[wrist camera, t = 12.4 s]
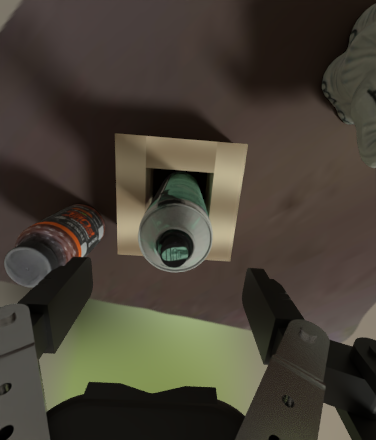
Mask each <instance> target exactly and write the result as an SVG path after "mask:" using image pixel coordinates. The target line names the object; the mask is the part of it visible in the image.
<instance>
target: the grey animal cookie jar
mask: <svg viewBox="0 0 376 440" xmlns="http://www.w3.org/2000/svg"><path fill="white" fill-rule="evenodd" d="M322 90H323V93H324V95H325V96H326V97H327V98H328V99H329V101H330V102H331V103H332V104H333V105H334V107H335V108H336V110H337V112H338V115H339V117H340V118H341V120H342V121H343V122H344V123H346V124H355V126H356V131H357V143H358V149H359V154H360V157H361V159H362V160H363V162H364V163H365V164H366V165H368V166H369V167H372V168H376V3H375V4H374V5H372V6H371V7H369V8H368V9H367V10H366V11H365V12H364V13H363V14H362V15H361V16H360V17H359V19H358V20H357V22H356V23H355V25H354V27H353V29H352V32H351V35H350V38H349V45H348V49H347V50H346V52H345V53H343V54H342V55H340V56H339V57H337V58H336V59H335V60H334V61H333V62H332V63H331V64H330V65H329V66H328V68H327V70H326V72H325V73H324V76H323V81H322Z"/></svg>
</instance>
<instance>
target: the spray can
mask: <svg viewBox="0 0 376 440" xmlns="http://www.w3.org/2000/svg"><path fill="white" fill-rule="evenodd" d="M212 237H213V231H212V226H211V222H210V219H209V216H208V213H207V210H206V207H205V203H204V200H203V197H202V194H201V191H200V188H199V185H198V182H197V181H196V179H195V178H194V177H193V176H192V175H191V174H189V173H186V172H174V173H172V174H170V175H169V176H167V177H166V178H165V180H164V181H163V183H162V185H161V186H160V188H159V190H158V192H157V193H156V195H155V197H154V199H153V200H152V202H151V204H150V206H149V207H148V209H147V211H146V212H145V214H144V216H143V218H142V220H141V222H140V226H139V232H138V243H139V248H140V250H141V252H142V254H143V256H144V257H145V258H146V260H147V261H149V262H150V263H151V264H152V265H153V266H155V267H157V268H159V269H161V270H164V271H168V272H184V271H187V270H190V269H192V268H195V267H196V266H198V265H199V264H200V263H202V262H203V261H204V259H205V258H206V257H207V255H208V254H209V252H210V249H211V246H212V240H213V238H212Z"/></svg>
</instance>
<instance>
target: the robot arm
mask: <svg viewBox="0 0 376 440" xmlns="http://www.w3.org/2000/svg"><path fill="white" fill-rule="evenodd" d="M92 288H93V279H92V265H91V259H90V258H89V257H72V258H71V259H70V260H69V261H68V262H67V263H66V264H65V265H64V266H59V267H58V268H56V269H54V270H52V271H50V272H49V273H48V274H47V275H46V276H45V277H44V279H42V280H41V281H40V282H39V283H38V285H36V286H35V287H34V288H33V289H32V290H30V291H29V292H28V293H27V294H26V295H25V296H24V297H23V298H22V299H21V300H20V301H19V302H18V303H17V304H10V305H6V306H3V307H0V440H317V439H318V432H319V425H320V419H321V413H322V407H323V403H326V404H328V405H331V406H334V407H335V408H336V410H337V412H338V414H339V415H340V418H341V420H342V421H343V423H344V425H345V427H346V429H347V431H348V433H349V435H350V437H351V439H352V440H376V340H373V339H370V338H357V339H356V340H355V342H354V345H353V347H352V346H348V345H345V344H342V343H338V342H335V341H332V340H329V338H328V336H327V334H326V333H325V332H324V331H323V330H322V329H321V328H320V327H318V326H317V325H315V324H313V323H311V322H309V321H306V320H305V319H304V318H303V316H302V315H301V313H300V312H299V311H298V309H297V308H296V306H295V305H294V303H293V302H292V300H291V299H290V297H289V296H288V294H287V293H286V291H285V290H284V288H283V287H282V285H280V284H279V283H278V282H277V281H275V280H274V279H269V277H268V275H267V274H266V272H265V270H264V269H257V268H248V269H247V272H246V277H245V282H244V288H243V293H242V303H243V307H244V310H245V313H246V315H247V318H248V321H249V324H250V327H251V330H252V333H253V335H254V338H255V341H256V344H257V347H258V350H259V352H260V355H261V358H262V361H263V364H264V365H268V367H267V369H266V371H265V374H264V376H263V378H262V380H261V382H260V385H259V387H258V389H257V392H256V394H255V396H254V398H253V400H252V403H251V405H250V407H249V409H248V411H247V414H246V416H244V415H243V414H242V413H241V412H239V411H238V410H237V409H235V408H234V407H232V406H231V405H229V404H227V403H225V402H223V401H220V400H217V394H216V388H212V387H190V386H184V387H180V388H175V389H171V390H167V391H162V392H158V393H148V392H145V391H141V390H138V389H136V388H133V387H130V386H127V385H124V384H121V383H101V382H89V383H88V385H87V388H86V391H85V393H84V394H82V395H78V396H76V397H73V398H70V399H68V400H66V401H64V402H62V403H60V404H58V405H56V406H55V407H53V408H51V409H50V410H49V411H47V406H46V400H45V395H44V389H43V383H42V377H41V371H40V365H39V359H40V357H41V356H42V354H43V353H55V352H56V351H57V349H58V348H59V346H60V344H61V343H62V341H63V340H64V338H65V336H66V335H67V333H68V331H69V330H70V328H71V326H72V325H73V323H74V322H75V320H76V318H77V317H78V315H79V314H80V312H81V310H82V309H83V307H84V306H85V304H86V302H87V301H88V299H89V297H90V295H91V293H92Z"/></svg>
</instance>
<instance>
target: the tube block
mask: <svg viewBox="0 0 376 440" xmlns="http://www.w3.org/2000/svg"><path fill="white" fill-rule="evenodd" d="M247 147H248V144H238V143H226V142H214V141H202V140H189V139H177V138H165V137H153V136H141V135H129V134H117V133H115V158H116V199H117V240H118V254H123V255H139V256H143V254H142V252H141V250H140V248H139V243H138V232H139V226H140V222H141V220H142V218H143V216H144V214H145V212H146V211H147V209H148V207H149V206H150V204H151V202H152V200H153V184H154V168H157V169H170V170H182V171H195V172H207V181H206V191H205V201H204V203H205V207H206V210H207V213H208V216H209V219H210V222H211V226H212V231H213V237H212V238H213V240H212V246H211V249H210V252H209V254H208V255H207V257H206V258H205V259H204V260H217V261H230V258H231V251H232V245H233V238H234V232H235V225H236V219H237V212H238V206H239V199H240V193H241V186H242V180H243V173H244V167H245V160H246V154H247Z"/></svg>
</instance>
